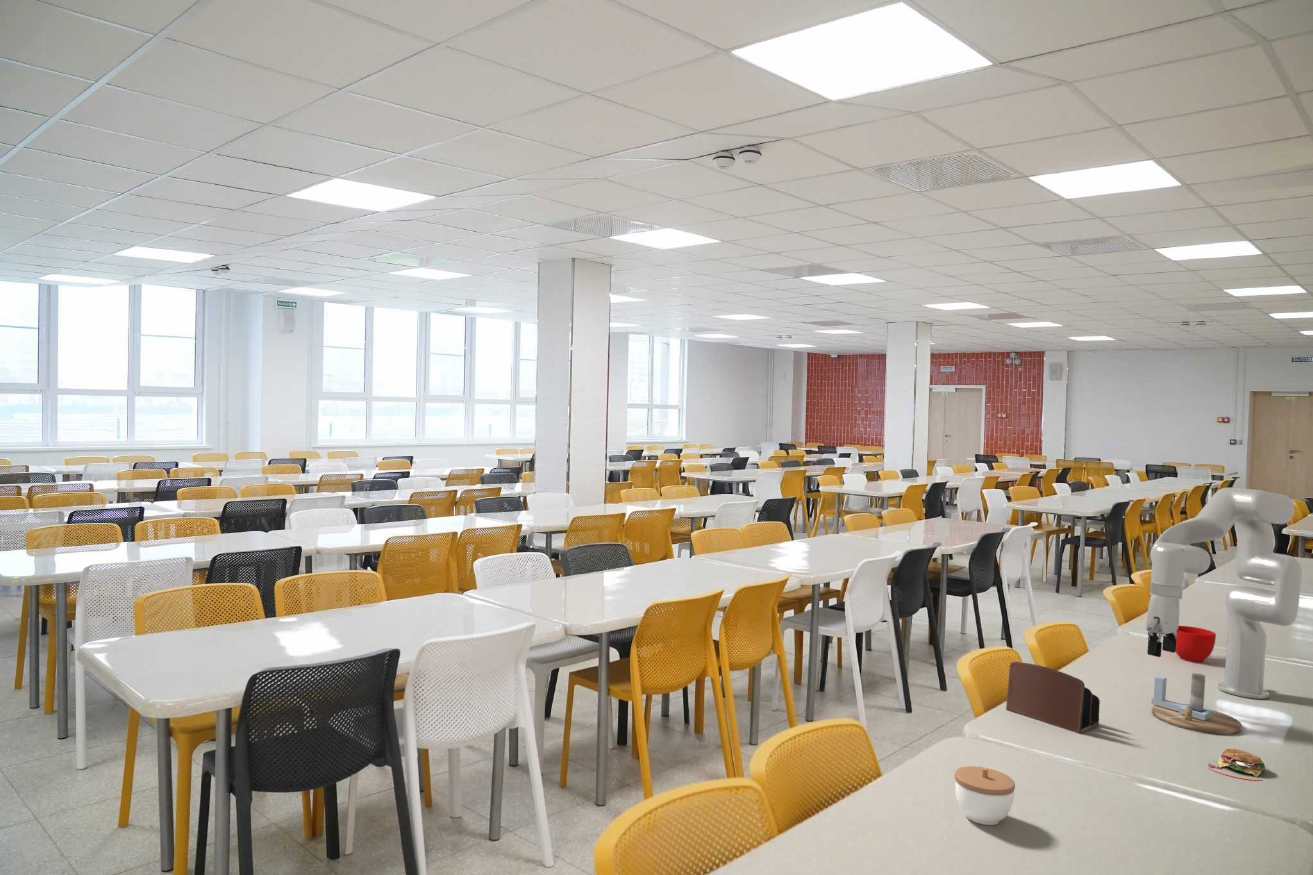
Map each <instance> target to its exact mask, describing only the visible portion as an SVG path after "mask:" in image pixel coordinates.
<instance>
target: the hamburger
mask: <svg viewBox="0 0 1313 875" xmlns="http://www.w3.org/2000/svg"><path fill="white" fill-rule="evenodd" d="M1217 764H1218V766H1217V767H1216V766H1215V765H1213V764H1211V763H1208V765H1207V766H1208V767H1207V769H1208V770H1209V771H1211V772H1214V773H1216V774H1219V775H1223V776H1225V777H1229V778H1232V779H1236V780H1237V779H1238V780H1242V781H1243V780H1244V781H1250V782H1263V781H1264V780H1263V779H1252V778H1250V779H1249V778H1243V777H1238V776H1235V775H1234V776H1233V775H1229V774H1227V773H1222V772H1220V771H1216V770H1214V769H1217V770H1223V769H1224V767H1227V768H1229V769H1231V770H1234V771H1237V772H1241V773H1246V774H1252V775H1253V776H1254V777H1255V778H1257V777H1258V776H1259V775H1261V773H1262V772H1263V771H1264V770H1265V769H1266V765H1265V763H1264V761H1262V759H1261V757H1260V756H1258V755H1255V754H1253V753H1250V752H1248V751H1245V750H1242V749H1237V748H1226V749H1225V750H1224V751H1222V753H1221V754H1220V757H1219V759H1218V760H1217Z"/></svg>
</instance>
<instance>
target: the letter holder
mask: <svg viewBox="0 0 1313 875" xmlns="http://www.w3.org/2000/svg"><path fill="white" fill-rule="evenodd" d="M1007 682H1008V686H1007V694H1006V695H1007V696H1006V704H1005V705H1006V711H1009V712H1011V713H1016V714H1019V715H1021V716H1024V717H1028V718H1030V719H1033V720H1036V721H1040V722H1043V723H1046V724H1049V725H1052V726H1054V727H1058V728H1061V729H1064V730H1067V731H1070V732H1074V733H1076V734H1083V733H1085V732H1088V731H1091V730H1093V729H1095V728H1098V727H1099V723H1100V707H1101V705H1100V704H1101V701H1100V698H1099V697H1098V695H1095V694H1093V692H1092V691H1091V689H1089V688H1088V687H1085V683H1084V681H1083V680H1082V679H1079V677H1078V678H1077V677H1075V676H1072V675H1070V674H1067V673H1065V672H1063V671H1059V670H1056V669H1053V668H1051V667H1046V666H1043V665H1039V664H1032V663H1029V662H1020V661H1011V662H1010V664H1009V671H1008V681H1007Z"/></svg>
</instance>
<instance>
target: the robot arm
mask: <svg viewBox="0 0 1313 875" xmlns="http://www.w3.org/2000/svg"><path fill="white" fill-rule="evenodd" d="M1295 510H1296V509H1295V503H1294V501H1293V500H1292V498H1290V496H1288V495H1286V494H1283V493H1282V494H1280V493H1276V492H1270V491H1266V490H1260V489H1253V488H1252V489H1251V488H1242V487H1223V488H1222V487H1221V489H1218V490H1217V491H1216V492H1215V493H1214V494H1213V495H1212V496H1211V498H1209V500H1208V502H1207V503H1206V504H1204V506H1203V508H1202V509H1201V510H1200V511H1199V512H1198V514H1197V515H1196V516H1195V517H1192V518H1188V519H1186V520H1184V521H1182V522H1179V523H1176V524H1173V525H1172V526H1169V528H1166V529H1165V530H1164V531H1163V532H1162V533H1160V536H1158V538H1157V540H1155V542H1154V543H1153V545H1152V548H1151V550H1150V555H1149V556H1150V560H1151V575H1150V576H1151V577H1150V590H1149V595H1150V598H1149V602H1148V608H1147V614H1146V623H1145V630H1146V631H1147V635H1148V636H1147V650H1146V651H1147V655H1148V656H1153V657H1157V658H1160V657H1161V656H1162V651H1164V652H1169V653H1173V654H1174V653H1175V654H1176V640H1177V631H1178V626H1180V625H1179V623H1180V600H1182V599H1183V591H1184V590H1183V588H1184V576H1185V573H1187V574H1193V575H1199V574H1202V573H1204V572H1207V570H1208V569H1209V567H1210V565H1211V561H1212V560H1211V556H1210V553H1208V551H1207V550H1206V549H1204V548H1201V547H1199V546H1194V545H1189V544H1194V543H1205V542H1212V541H1216V540H1219V539H1222V538H1224V537H1225V536H1226V535H1227V534H1228V533H1229V531H1230V530H1231V528H1232V527H1233V526H1234V525H1235V526H1236V527H1237V532H1238V541H1237V550H1236V558H1235V559H1236V560H1235V573H1236V576H1237V577H1238V578H1239V579H1241V580H1243V581H1246V582H1251V583H1255V584H1259V585H1260V584H1261V585H1264V586H1265V585H1266V586H1271V587H1274V590H1272V589H1271V590H1270V589H1266V588H1261V587H1254V586H1249V585H1235V586H1233V587H1231V588H1229V589H1228V591H1227V592H1226V594H1225V608H1226V613H1227V634H1226V635H1227V637H1226V651H1225V662H1224V663H1225V668H1224V678H1223V679H1224V681H1219V682H1218V684H1217V688H1218V689H1219V690H1220V691H1222V692H1224V693H1227V694H1229V695H1235V696H1237V697H1241V698H1242V697H1243V698H1247V699H1248V698H1249V699H1257V700H1259V699H1260V700H1262V699H1265V700H1266V699H1268V698H1269V697H1270V692H1269V691H1268V690H1266V689H1264V679H1265V668H1266V667H1265V666H1266V665H1265V664H1266V651H1267V648H1266V647H1267V634H1266V631H1265V628H1264V627H1263V626H1262V624H1261V622H1262V623H1266V624H1272V625H1276V626H1282V627H1289V626H1291V625H1292V624H1294V622H1295V621H1296V619H1297V617H1298V613H1299V604H1300V597H1301V596H1300V595H1301V588H1302V587H1301V586H1302V576H1303V574H1302V572H1303V571H1302V566H1301V563H1300V562H1299V561H1298V559H1296V557H1293V556H1291V555H1289V554H1283V553H1276V552H1274V540H1275V536H1274V533H1273V531H1272V528H1271V527H1270V525H1269V524H1276V525H1277V524H1278V525H1285V524H1287V523H1289V522H1290V521H1291V520H1292V519H1293V517H1294V515H1295ZM1161 640H1162V641H1161Z"/></svg>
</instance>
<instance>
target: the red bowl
mask: <svg viewBox="0 0 1313 875" xmlns="http://www.w3.org/2000/svg"><path fill="white" fill-rule="evenodd" d="M1216 637H1217V634H1216V632H1215V631H1212V630H1209V629H1205V628H1201V627H1196V626H1187V625H1178V631H1177V640H1176V652H1175V654H1176V655H1177V656H1178V657H1179V659H1180V660H1183V661H1187V662H1190V661H1191V663H1203V662H1204V661H1205V660H1207V659H1208V658H1209V657H1210V655H1211V654H1212V652H1213V651H1214V648H1215V644H1216Z"/></svg>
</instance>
